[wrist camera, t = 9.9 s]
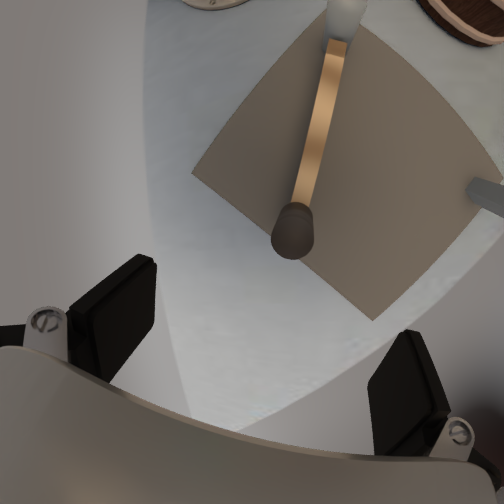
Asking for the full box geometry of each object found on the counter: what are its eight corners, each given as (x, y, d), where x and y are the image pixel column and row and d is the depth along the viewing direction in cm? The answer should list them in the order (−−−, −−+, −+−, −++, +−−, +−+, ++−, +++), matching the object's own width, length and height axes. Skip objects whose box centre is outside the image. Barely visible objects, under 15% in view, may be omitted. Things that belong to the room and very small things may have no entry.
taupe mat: (192, 172, 33) (191, 173, 33) (330, 6, 22) (330, 4, 22) (372, 319, 36) (372, 321, 35) (501, 177, 25) (503, 177, 25)
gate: (318, 58, 25) (323, 9, 13) (345, 65, 24) (366, 21, 13) (279, 224, 33) (261, 271, 21) (304, 231, 32) (301, 282, 21)
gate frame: (317, 50, 25) (320, -1, 13) (331, 35, 24) (341, -20, 12) (472, 203, 27) (533, 237, 16) (483, 188, 26) (547, 215, 14)
